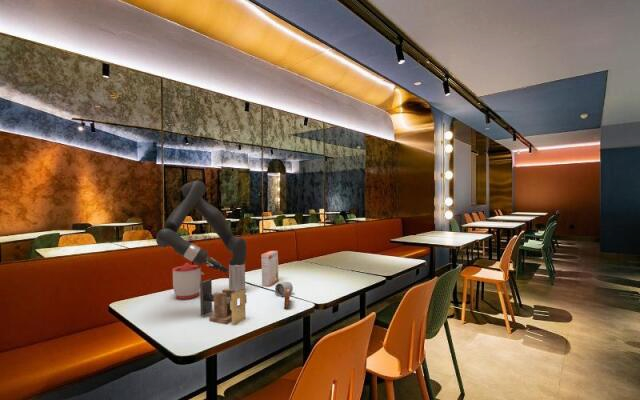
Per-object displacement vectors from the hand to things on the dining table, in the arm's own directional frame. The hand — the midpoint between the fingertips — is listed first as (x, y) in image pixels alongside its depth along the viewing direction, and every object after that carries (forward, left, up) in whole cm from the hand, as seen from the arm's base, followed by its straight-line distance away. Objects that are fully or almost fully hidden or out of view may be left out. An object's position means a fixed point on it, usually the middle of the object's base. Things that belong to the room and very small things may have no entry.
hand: (227, 271), depth 158 cm
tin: (+16, +26, -21) cm, 37 cm away
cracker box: (-24, +46, -21) cm, 56 cm away
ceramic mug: (0, +36, -21) cm, 41 cm away
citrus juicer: (-39, -2, -21) cm, 44 cm away
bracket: (+8, -6, -20) cm, 23 cm away
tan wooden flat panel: (+15, -3, -20) cm, 26 cm away
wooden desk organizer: (+4, -7, -19) cm, 21 cm away
